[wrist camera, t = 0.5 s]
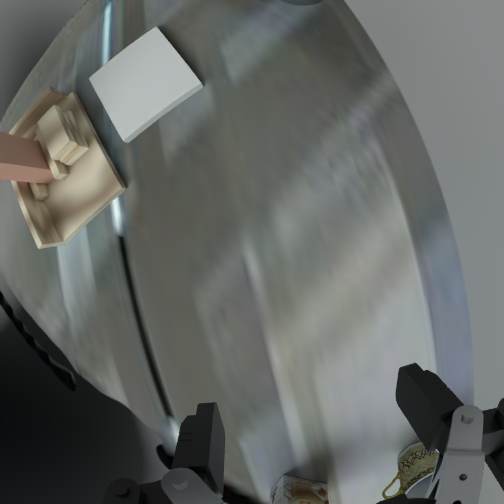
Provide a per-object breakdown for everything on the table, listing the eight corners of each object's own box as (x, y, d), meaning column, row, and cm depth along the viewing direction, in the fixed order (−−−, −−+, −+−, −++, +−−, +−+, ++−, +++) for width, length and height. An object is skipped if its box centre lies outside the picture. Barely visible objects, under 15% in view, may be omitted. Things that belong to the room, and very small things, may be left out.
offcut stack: (54, 128, 38) (37, 122, 33) (71, 111, 37) (54, 103, 33) (71, 165, 38) (52, 162, 34) (89, 148, 37) (71, 142, 33)
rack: (24, 150, 40) (0, 145, 34) (77, 94, 38) (53, 81, 32) (65, 244, 41) (38, 248, 35) (126, 188, 39) (102, 184, 33)
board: (36, 156, 38) (-59, 139, 19) (46, 143, 38) (-49, 121, 18) (47, 184, 39) (-54, 176, 19) (58, 171, 38) (-45, 157, 18)
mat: (93, 81, 38) (88, 78, 36) (159, 31, 36) (156, 26, 35) (128, 143, 38) (123, 140, 37) (203, 87, 37) (201, 82, 35)
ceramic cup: (440, 427, 39) (462, 460, 29) (433, 461, 40) (450, 493, 30) (374, 448, 41) (388, 487, 31) (371, 480, 42) (382, 517, 32)
